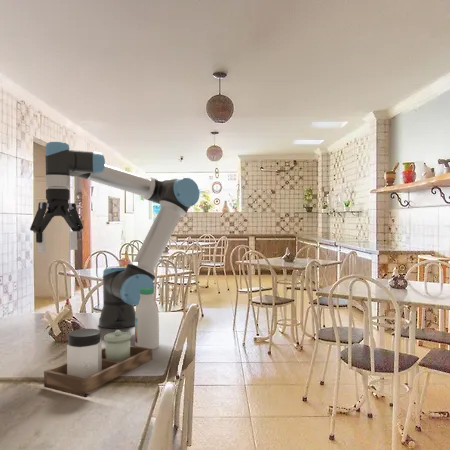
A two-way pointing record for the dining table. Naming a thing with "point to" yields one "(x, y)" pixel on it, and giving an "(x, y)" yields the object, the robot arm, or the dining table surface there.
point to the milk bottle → (147, 321)
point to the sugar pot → (117, 346)
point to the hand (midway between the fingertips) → (58, 251)
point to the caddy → (110, 370)
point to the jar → (84, 353)
